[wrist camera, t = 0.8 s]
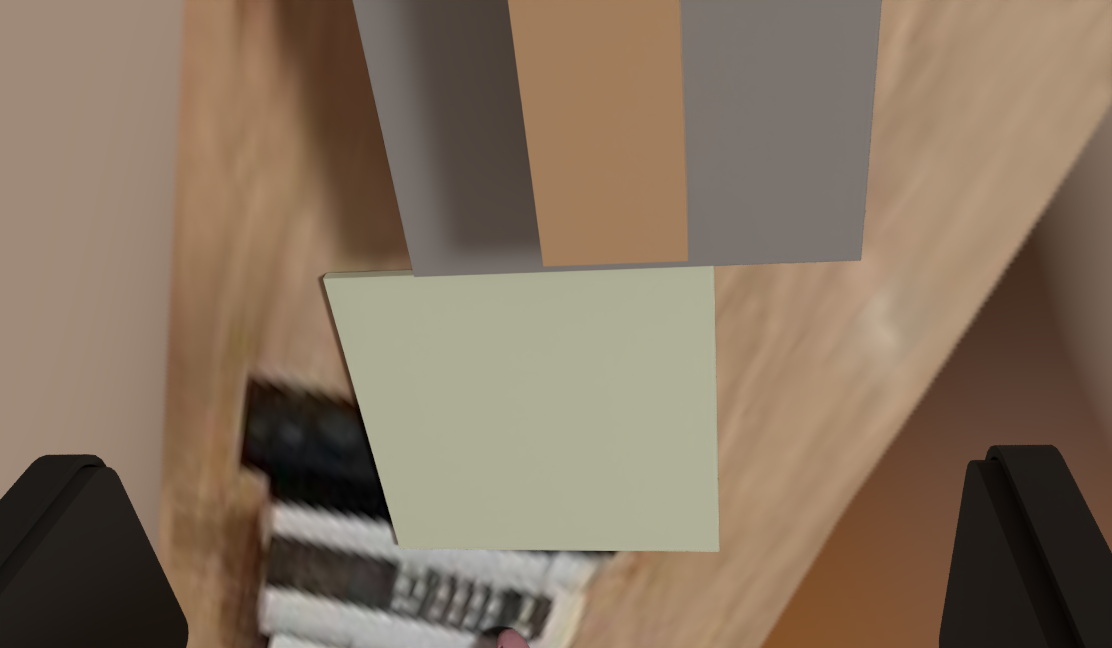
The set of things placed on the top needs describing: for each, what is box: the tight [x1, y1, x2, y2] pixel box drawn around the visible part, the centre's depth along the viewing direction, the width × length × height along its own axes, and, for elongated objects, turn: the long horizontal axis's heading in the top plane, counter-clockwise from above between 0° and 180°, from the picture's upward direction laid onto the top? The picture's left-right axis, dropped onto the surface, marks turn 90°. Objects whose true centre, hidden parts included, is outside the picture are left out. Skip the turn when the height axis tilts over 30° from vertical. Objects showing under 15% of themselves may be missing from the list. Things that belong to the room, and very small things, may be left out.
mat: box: [323, 266, 719, 552], centre depth 37 cm, size 14×14×1 cm
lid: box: [353, 0, 882, 277], centre depth 22 cm, size 13×13×5 cm
